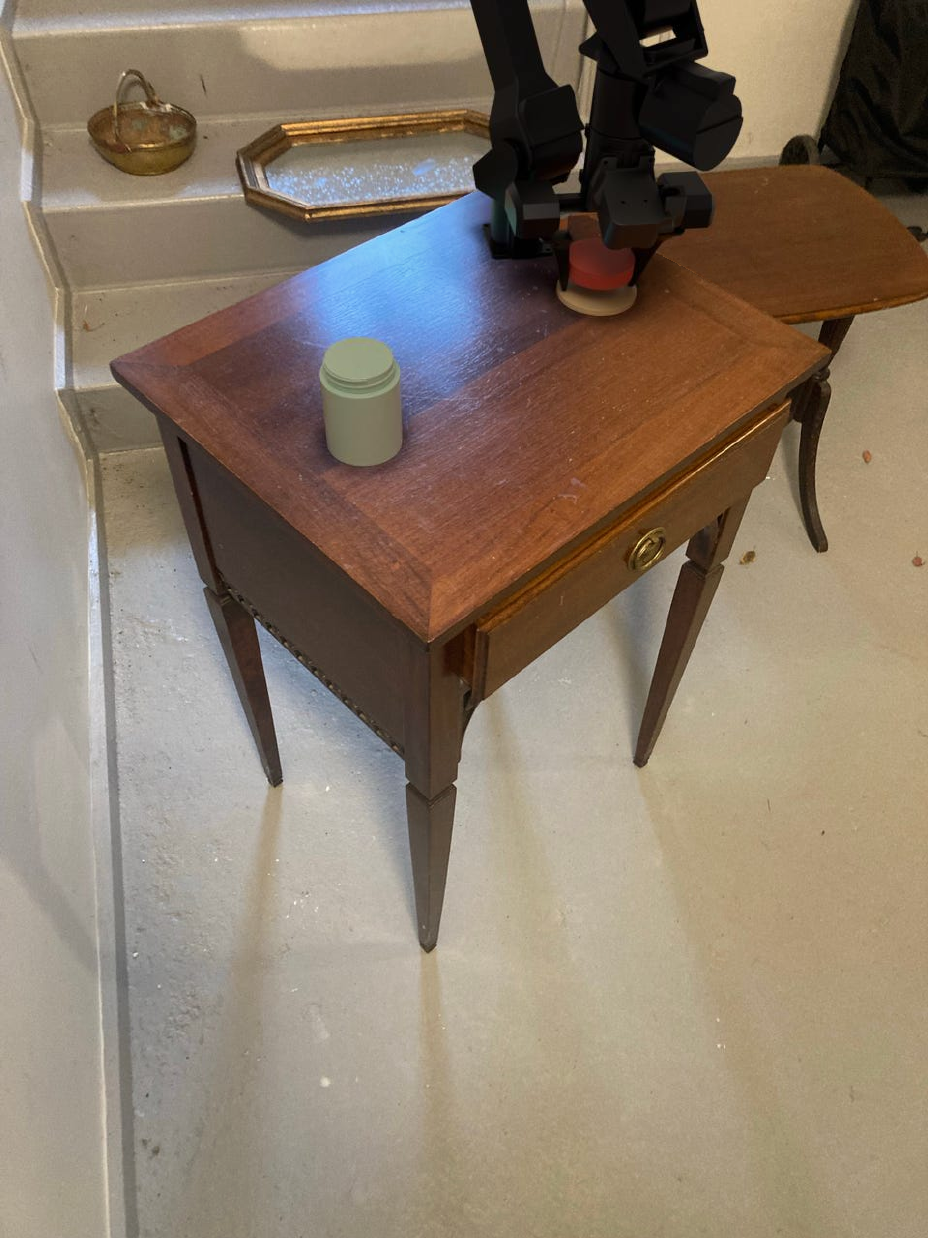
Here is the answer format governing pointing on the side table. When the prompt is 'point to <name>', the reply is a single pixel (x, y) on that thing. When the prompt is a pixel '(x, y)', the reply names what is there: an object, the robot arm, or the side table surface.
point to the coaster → (597, 299)
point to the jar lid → (599, 265)
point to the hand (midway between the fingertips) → (596, 286)
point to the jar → (361, 401)
